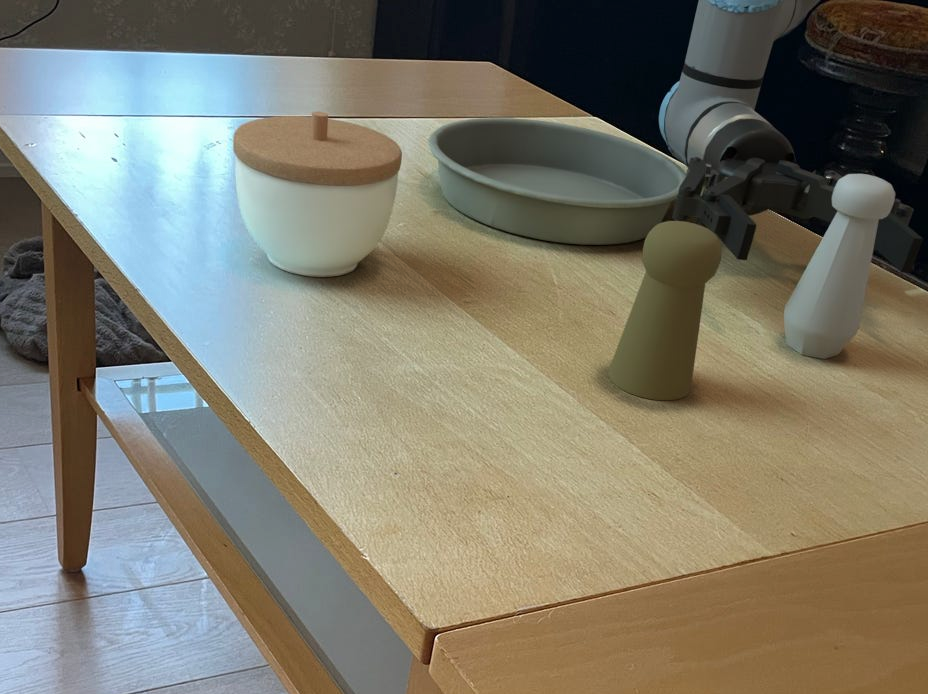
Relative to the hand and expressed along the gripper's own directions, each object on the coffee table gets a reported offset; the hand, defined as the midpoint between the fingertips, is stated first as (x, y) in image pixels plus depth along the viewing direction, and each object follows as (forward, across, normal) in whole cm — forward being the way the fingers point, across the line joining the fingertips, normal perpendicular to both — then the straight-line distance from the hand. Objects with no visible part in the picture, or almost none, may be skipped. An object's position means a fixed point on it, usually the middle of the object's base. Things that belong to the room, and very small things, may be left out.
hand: (831, 249), depth 88 cm
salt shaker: (+2, 0, -7) cm, 8 cm away
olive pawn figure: (+9, +15, -7) cm, 19 cm away
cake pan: (-27, +15, -7) cm, 32 cm away
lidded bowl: (-9, +39, -7) cm, 40 cm away
